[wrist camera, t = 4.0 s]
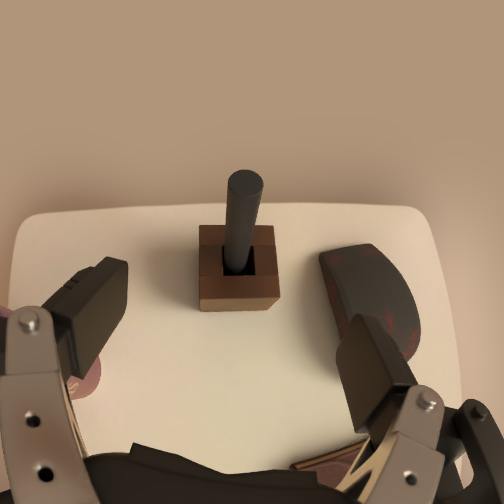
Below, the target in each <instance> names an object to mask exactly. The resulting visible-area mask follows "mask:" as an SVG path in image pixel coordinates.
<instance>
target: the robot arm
mask: <svg viewBox="0 0 504 504" xmlns="http://www.w3.org/2000/svg"><path fill="white" fill-rule="evenodd" d="M127 289H128V263H127V262H126V261H123V260H119V259H115V258H112V257H105V258H104V259H103V260H102V261H101V262H100V263H98V264H97V265H96V266H95V267H91V266H90V267H88V268H85V269H83V270H80V271H78V272H77V273H76V274H75V275H74V276H73V277H72V278H71V279H70V281H69V280H68V281H67V282H66V283H65V284H64V285H63V287H61V288H60V289H59V290H58V291H56V292H55V293H54V294H53V295H52V296H51V297H50V298H49V299H48V300H47V301H46V302H45V303H44V304H43V305H42V306H41V307H38V306H26V307H22V308H19V309H17V310H15V311H14V312H13V313H12V314H11V315H10V316H9V317H2V316H0V432H1V440H2V447H3V454H4V460H5V465H6V470H7V475H8V480H9V484H10V488H11V489H9V490H6V491H3V492H1V493H0V504H504V439H503V437H502V434H501V432H500V430H499V428H498V426H497V424H496V423H495V421H494V419H493V417H492V415H491V413H490V411H489V410H488V409H487V407H486V406H485V405H484V404H483V403H481V402H479V401H477V400H475V399H468V400H466V401H465V402H464V403H463V404H462V406H461V407H460V408H459V409H453V408H449V407H445V406H444V402H443V400H442V398H441V397H440V396H439V394H438V393H437V392H435V391H434V390H433V389H431V388H429V387H427V386H424V385H418V383H417V381H416V379H415V377H414V375H413V373H412V371H411V369H410V367H409V366H408V364H407V362H406V360H404V356H403V354H402V353H401V352H400V349H399V347H398V345H397V343H396V342H395V340H394V339H393V338H392V337H391V336H390V335H389V334H388V333H387V332H386V331H384V329H383V327H382V325H381V323H380V322H379V320H378V318H377V317H376V316H371V315H365V314H360V313H356V314H355V315H354V316H353V318H352V319H351V322H350V324H349V326H348V328H347V330H346V332H345V334H344V336H343V338H342V340H341V342H340V344H339V346H338V349H337V353H336V364H337V367H338V371H339V374H340V378H341V381H342V385H343V389H344V392H345V396H346V400H347V403H348V407H349V411H350V415H351V419H352V422H353V426H354V430H355V433H369V435H370V438H369V439H368V440H367V441H366V442H365V443H364V445H363V447H362V449H361V451H360V452H359V454H358V456H357V457H356V459H355V461H354V462H353V464H352V466H351V467H350V469H349V471H348V472H347V474H346V475H345V477H344V478H343V480H342V481H341V482H340V484H339V485H338V486H337V487H336V488H333V487H331V486H328V485H324V484H321V483H318V479H317V471H292V470H275V469H274V470H267V471H259V472H250V473H240V474H224V473H220V472H218V471H215V470H213V469H210V468H208V467H205V466H203V465H200V464H198V463H196V462H193V461H191V460H189V459H186V458H184V457H182V456H180V455H177V454H173V453H169V452H165V451H161V450H157V449H154V448H150V447H147V446H143V445H140V444H137V443H134V442H133V444H132V447H131V450H130V453H123V452H112V453H101V454H96V455H91V456H89V455H88V452H87V450H86V447H85V444H84V442H83V439H82V436H81V433H80V430H79V427H78V423H77V420H76V416H75V413H74V409H73V405H72V402H71V398H70V394H69V389H68V386H67V381H68V380H69V378H70V377H71V375H72V376H74V377H76V378H79V379H81V380H84V378H85V376H86V375H87V373H88V371H89V370H90V368H91V366H92V365H93V363H94V361H95V360H96V358H97V356H98V355H99V353H100V352H101V350H102V348H103V347H104V345H105V344H106V342H107V341H108V339H109V337H110V336H111V334H112V333H113V331H114V330H115V328H116V327H117V325H118V323H119V322H120V320H121V319H122V317H123V315H124V313H125V310H126V306H127ZM465 451H466V452H467V455H468V458H469V460H470V463H471V466H472V468H473V471H474V477H473V480H472V482H471V483H470V485H469V486H467V487H466V488H465V489H463V486H462V483H461V480H460V477H459V474H458V471H457V468H456V465H455V463H454V461H455V460H456V459H458V458H459V457H460V456H461V455H462V454H463V453H464V452H465Z"/></svg>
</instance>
